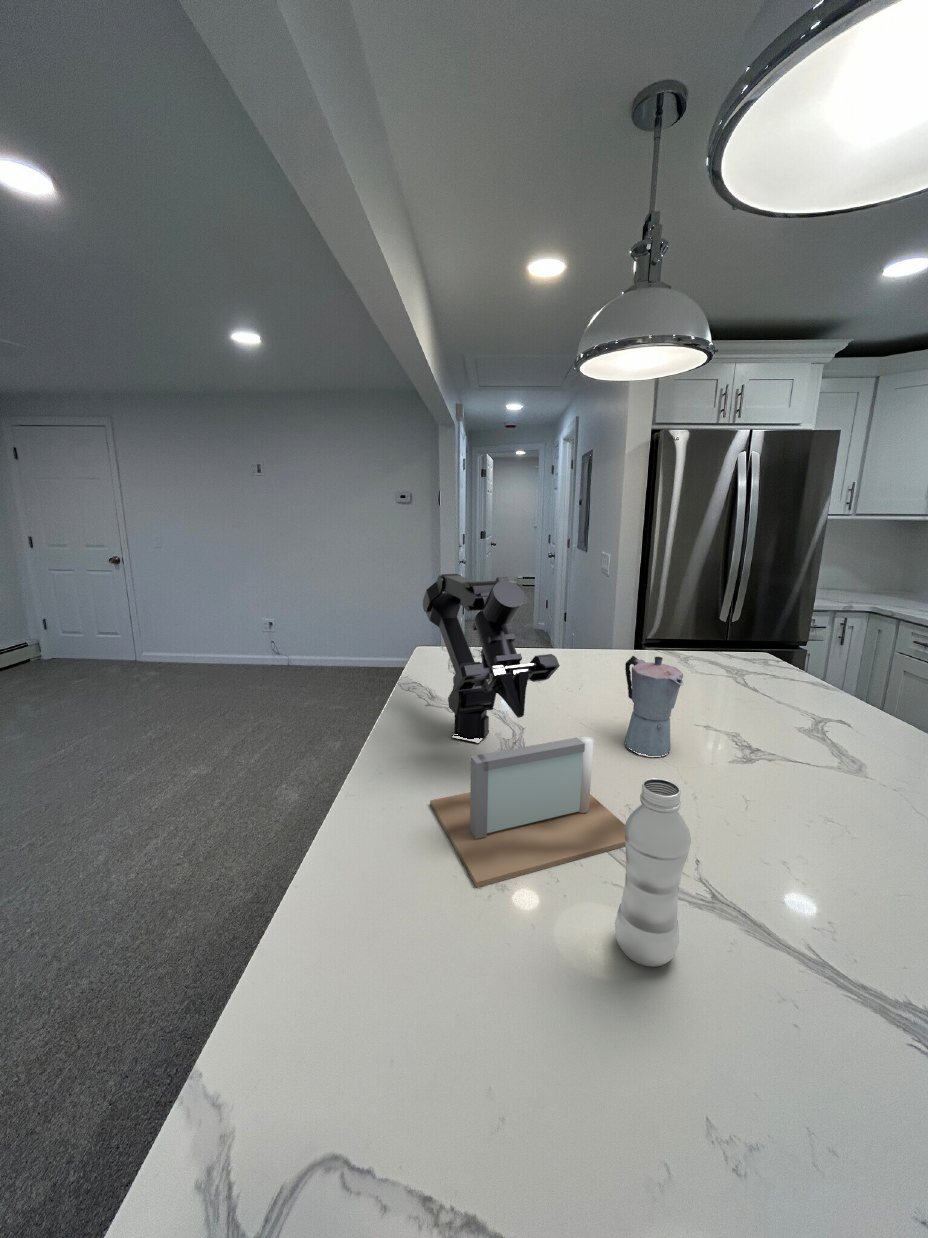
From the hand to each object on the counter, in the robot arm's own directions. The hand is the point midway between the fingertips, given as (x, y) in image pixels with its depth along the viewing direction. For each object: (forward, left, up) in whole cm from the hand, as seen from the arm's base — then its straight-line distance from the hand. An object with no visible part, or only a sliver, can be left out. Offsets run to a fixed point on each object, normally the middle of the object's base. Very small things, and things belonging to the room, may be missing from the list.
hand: (520, 716), depth 85 cm
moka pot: (+19, +26, -14) cm, 35 cm away
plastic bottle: (+23, -26, -14) cm, 37 cm away
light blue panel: (+5, -9, -12) cm, 16 cm away
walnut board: (+5, -9, -13) cm, 17 cm away
